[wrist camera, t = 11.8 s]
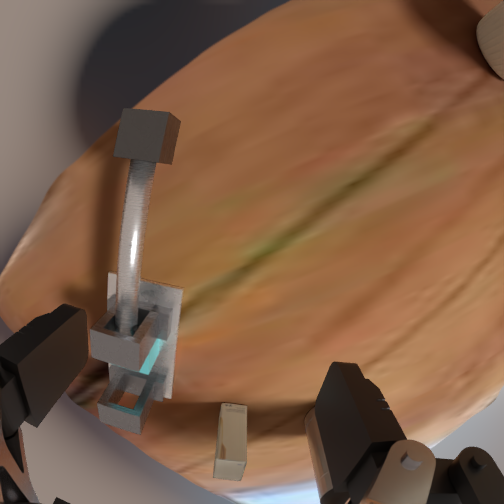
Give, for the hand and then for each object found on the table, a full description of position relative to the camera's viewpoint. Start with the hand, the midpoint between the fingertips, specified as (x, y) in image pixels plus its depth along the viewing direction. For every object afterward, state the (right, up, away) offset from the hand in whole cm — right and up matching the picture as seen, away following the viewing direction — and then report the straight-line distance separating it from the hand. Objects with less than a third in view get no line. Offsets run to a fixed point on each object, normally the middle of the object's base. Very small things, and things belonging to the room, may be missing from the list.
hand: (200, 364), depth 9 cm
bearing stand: (-15, -10, +33) cm, 37 cm away
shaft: (-11, +5, +24) cm, 28 cm away
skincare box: (-2, -24, +37) cm, 44 cm away
